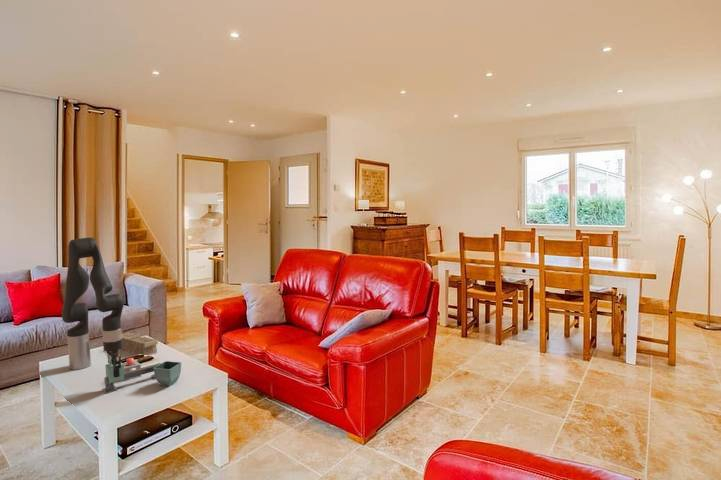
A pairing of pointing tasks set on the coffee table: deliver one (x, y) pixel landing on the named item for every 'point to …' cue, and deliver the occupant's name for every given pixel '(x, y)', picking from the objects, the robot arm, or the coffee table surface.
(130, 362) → the button
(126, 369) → the cabinet
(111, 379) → the carriage
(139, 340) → the block tower
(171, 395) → the coffee table surface
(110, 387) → the handrail
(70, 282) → the robot arm
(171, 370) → the flower pot
